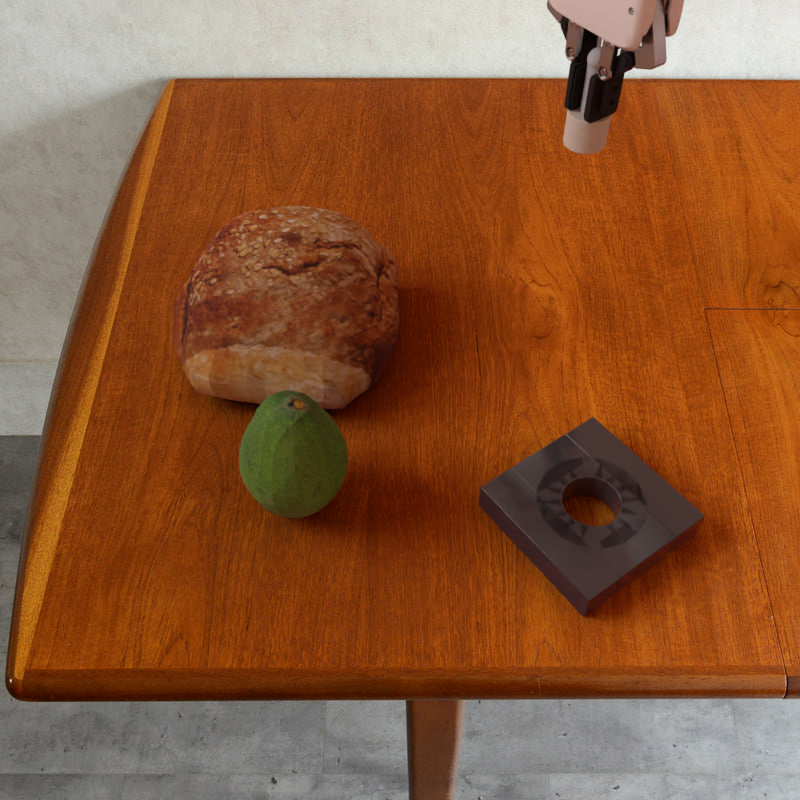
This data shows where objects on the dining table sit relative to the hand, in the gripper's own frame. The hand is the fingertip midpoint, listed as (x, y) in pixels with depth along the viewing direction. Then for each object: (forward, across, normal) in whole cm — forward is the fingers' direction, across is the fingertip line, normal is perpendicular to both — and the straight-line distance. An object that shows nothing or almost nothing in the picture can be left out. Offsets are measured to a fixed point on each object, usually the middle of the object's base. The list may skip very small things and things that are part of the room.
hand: (590, 109), depth 73 cm
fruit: (+19, -7, +34) cm, 40 cm away
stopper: (+3, 0, 0) cm, 3 cm away
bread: (+19, +8, +26) cm, 33 cm away
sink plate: (+19, -22, +17) cm, 33 cm away
